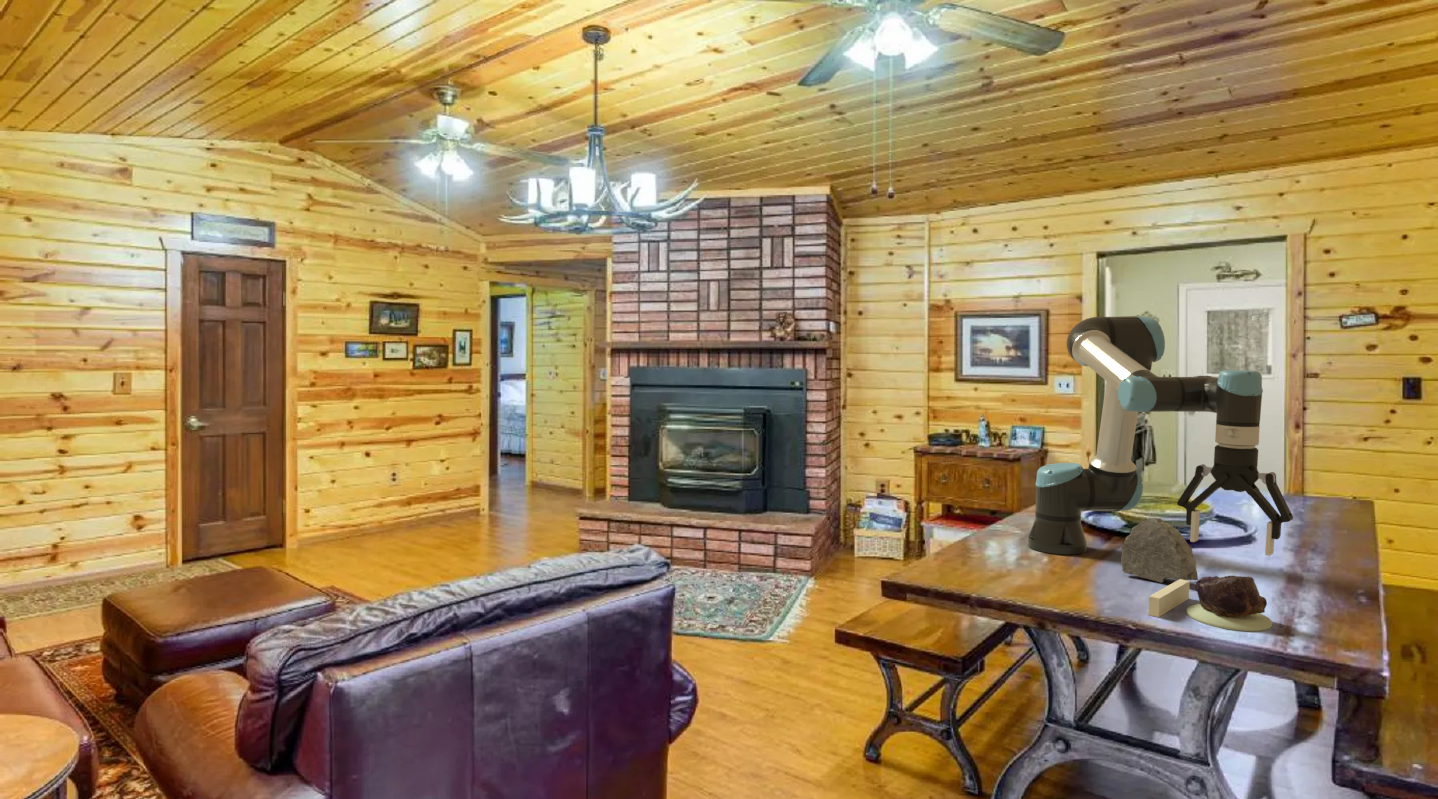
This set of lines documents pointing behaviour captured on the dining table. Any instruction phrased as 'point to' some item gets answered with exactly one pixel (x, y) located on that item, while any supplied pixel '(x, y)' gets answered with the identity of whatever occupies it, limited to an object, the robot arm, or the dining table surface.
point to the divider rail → (1168, 598)
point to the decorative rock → (1158, 553)
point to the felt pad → (1230, 620)
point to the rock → (1230, 596)
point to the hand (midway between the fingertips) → (1230, 547)
